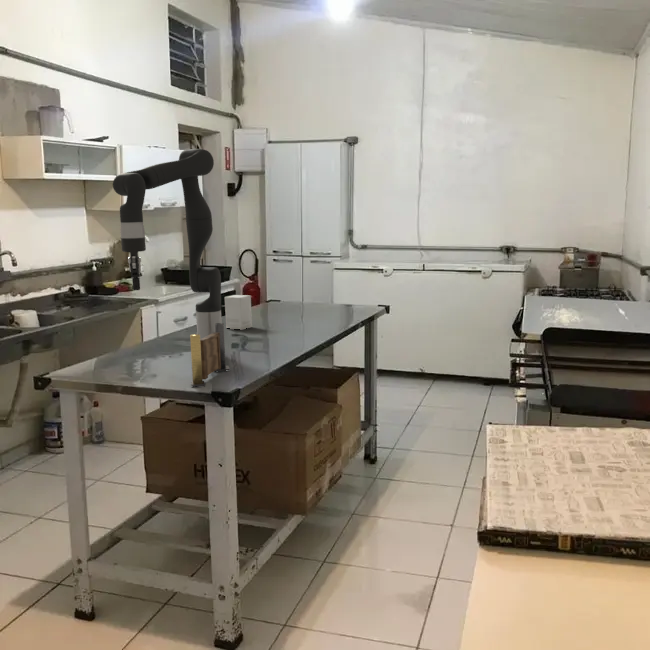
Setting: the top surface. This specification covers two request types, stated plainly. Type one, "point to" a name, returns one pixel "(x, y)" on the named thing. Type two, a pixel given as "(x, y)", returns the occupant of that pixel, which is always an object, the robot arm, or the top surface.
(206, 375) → the gate
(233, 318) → the supplement box
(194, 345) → the post
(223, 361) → the hinge post
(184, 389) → the top surface
